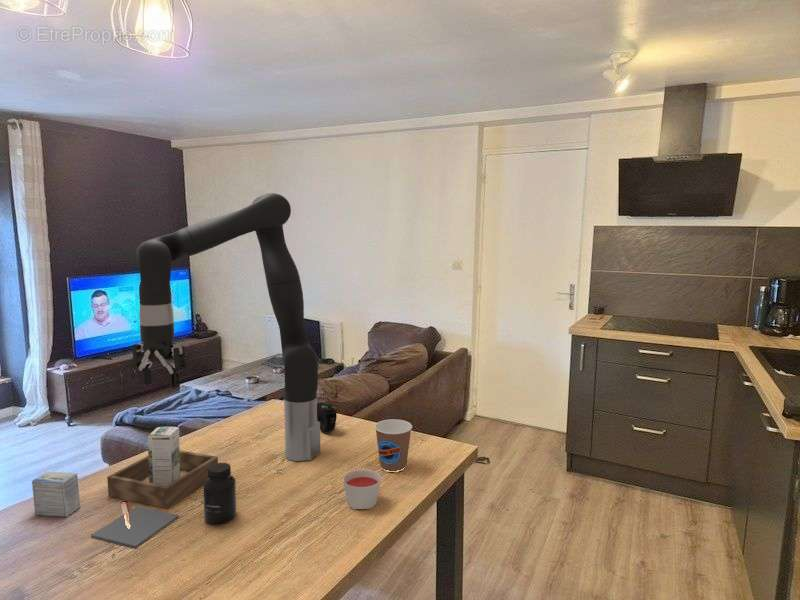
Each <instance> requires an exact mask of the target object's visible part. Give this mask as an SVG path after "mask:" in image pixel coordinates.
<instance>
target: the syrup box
mask: <svg viewBox="0 0 800 600" xmlns="http://www.w3.org/2000/svg"><path fill="white" fill-rule="evenodd" d="M180 449H181V448H180V428H179V427H178V426H159V427H158V426H157V427H156V428H155V429H154V430H153V431H151V433H150V434H148V435H147V452H148V453H147V456H148V460H149V476H148V479H149V481H148V482H149V483H154V484H159V485H164V486H167V485H169V484H170V483H172V482H174V481H175V480H177V479H178V478H180V477H182V475H181V470H180V451H181V450H180Z"/></svg>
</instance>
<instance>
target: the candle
mask: <svg viewBox="0 0 800 600" xmlns="http://www.w3.org/2000/svg"><path fill="white" fill-rule="evenodd" d="M342 481H343V486H344V491H345V496H346V497H345V498H346V501H347V505H348V506H349V507H350V509H351V508H352V509H353V508H354V510H356V509H367V510H369V509H368V508H370V509H372V508H374V507H375V506H376V505H377V502H378V498H379V491H380V486H381V481H382V476H381V474H380V473H379V472H377V471H375V470H372V469H365V468H364V469H361V468H360V469H354V470H351V471H349V472H347V473H346V474H345V475H344V476H343V478H342ZM375 504H376V505H375ZM374 505H375V506H374ZM373 506H374V507H373ZM371 507H372V508H371Z"/></svg>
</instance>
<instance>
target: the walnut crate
mask: <svg viewBox="0 0 800 600" xmlns="http://www.w3.org/2000/svg"><path fill="white" fill-rule="evenodd" d="M216 463H219V458H218V456H215V455H210V454H204V453H197V452H192V451H185V450H180V471H186V472H187V473H185V474H184V475H181V477H180V478H178V479H177V480H175V481H174V482H172V483H170V484H169V485H167V486H164V485H159V484H154V483H149V481H143V480H144V479H146V478H149V460H148V455H146V456H145V457H142V458H141V459H139V460H136V461H135V462H133V463H131V464H129V465H127V466H126V467H123V468H122V469H119V470H118V471H116V472H113V473H111V474H110V475H108V476H106V477H107V493H108V495H107V496H108V497H110V498H116V499H119V498H120V499H121V500H125V501H128V502H133V503H139V504H143V505H148V506H153V507H156V508H162V509H167V510H168V509H170V508H172V506H175V504H177V503H179V502H180V501H181V500H183V499H185V498H186V497H188V496H189V495H191V494H192V493H193V492H195V491H196V490H198V489H199V488H201V487H202V486H204V482H205V480H206V479H207V478H208V468H209V467H210V466H211V465H213V464H216Z"/></svg>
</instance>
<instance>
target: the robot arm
mask: <svg viewBox="0 0 800 600" xmlns="http://www.w3.org/2000/svg"><path fill="white" fill-rule="evenodd" d="M291 214H292V208H291V204H290V202H289V200H288V199H287V198H286V197H285V196H283V195H282V194H279V193H275V192H272V193H271V192H270V193H265V194H262V195H260V196H258V197H256V198H255V199H254V200H253V201H252V202H251V203H250V204H249V205H247V206H244V207H242V208H240V209H237V210H235V211H233V212H229V213H227V214H223V215H220V216H217V217H212V218H210V219H206V220H203V221H200V222H197V223H194V224H191V225H188V226H185V227H183V228H180V229H178V230H176V231H174V232H172V233H168V234H163V235H161V236H157V237H154V238H151V239H148V240H145V241H143V242H141V243H140V244H139V245H138V246H137V248H136V249H135V258H136V261H137V262H138V264H139V276H140V278H139V279H140V282H139V284H138V285H139V286H138V293H139V294H138V295H139V298H138V299H139V312H138V315H139V318H138V319H139V334H140V341H141V342H138V343H134V344H133V345H132V366H133V368H138V370H139V371H140V380H141V384H142V386H148V385H151V384H152V370H151V369H150V368H151V367H152V364H155V363H157V364H162V366H163V367H164V368H166V369H167V370H168V373H169V375H168V377H169V378H168V379H169V389H175V388H178V387H179V386H180V383H181V381H180V372H183V371H185V370H186V369H187V360H186V351H185V346H183V345H180V346H174V344H173V341H174V340H175V323H174V322H175V320H174V319H175V318H174V311H173V310H174V309H173V305H172V287H171V274H172V263H173V262H174V261H177V260H180V259H182V258H186V257H187V258H188V257H192V256H195V255H197V254H200V253H203V252H205V251H208V250H210V249H213V248H215V247H218V246H220V245H222V244H225V243H226V242H229V241H232V240H234V239H237V238H238V237H241V236H243V235H246V234H249V233H253V232H255V234H256V238H257V240H258V241H257V242H258V243H259V248H260V253H261V259H262V265H263V271H264V274H265V275H264V276H265V282H266V288H267V291H268V295H269V299H270V300H269V301H270V303H271V304H270V305H271V306H272V311H273V314H274V317H275V319H276V322H277V324H278V329H279V335H280V343H281V344H280V345H281V356H282V362H283V366H284V367H283V368H284V370H283V371H284V389H283V397H284V398H283V403H284V404H283V405H284V406H283V407H284V441H285V443H284V446H285V448H284V449H285V450H284V451H285V459H287V460H290V461H293V462H306V461H308V460H310V461H312V460H314V459H315V458H316V457H317V456H318V455H319V454H321V430H320V422H319V421H317V403H318V398H317V397H318V396H317V395H318V393H317V392H318V388H319V387H318V386H319V382H318V381H319V369H318V368H319V365H318V364H319V363H318V355H317V353H316V352H315V350H314V349H313V347H312V344H311V342H310V339H309V336H308V331H307V329H306V325H305V311H304V310H305V307H304V306H305V305H304V294H303V293H304V292H303V288H302V283H301V282H302V281H301V276H300V273H299V271H298V268H297V265H296V263H295V261H294V259H293V257H292V255H291V253H290V251H289V248H288V246H287V243H286V239H285V234H284V233H285V232H284V225H285V224H286V223H287V222H288V221H289V219H290V217H291ZM316 455H317V456H316ZM315 456H316V457H315ZM314 457H315V458H314ZM305 460H306V461H305Z"/></svg>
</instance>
